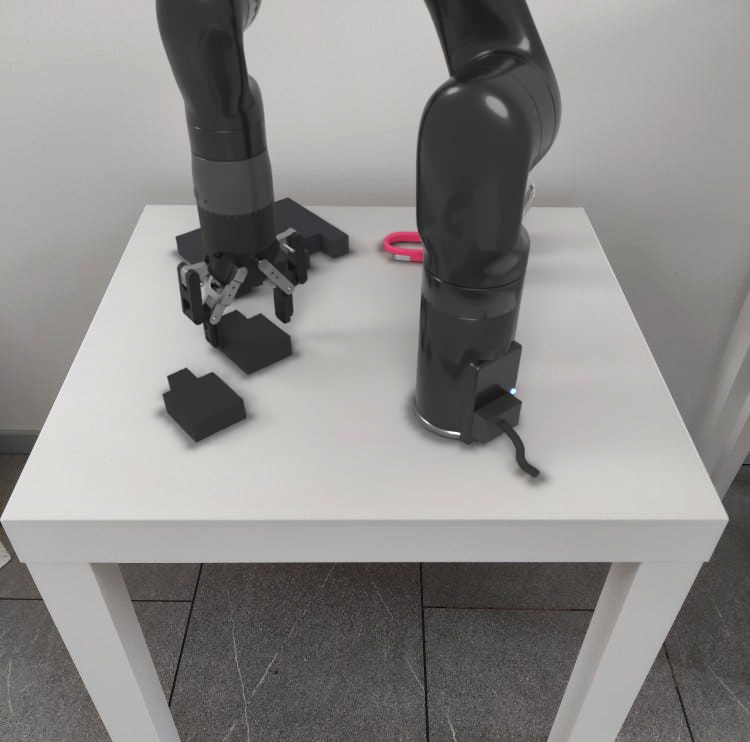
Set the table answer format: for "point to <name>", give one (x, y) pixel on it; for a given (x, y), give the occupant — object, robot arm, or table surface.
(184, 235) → the dark grey notched board
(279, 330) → the black tabbed block
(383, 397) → the table surface
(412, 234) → the fitness band
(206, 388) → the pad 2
